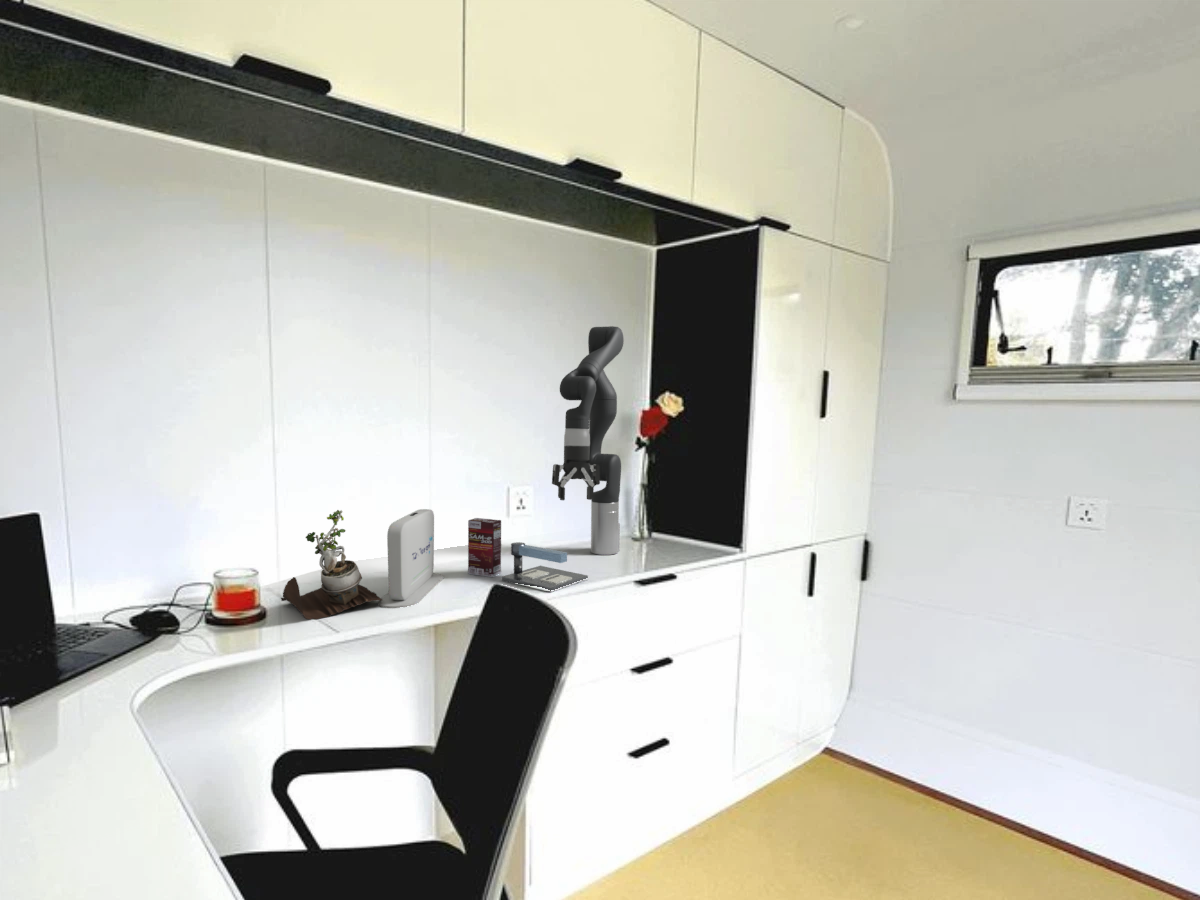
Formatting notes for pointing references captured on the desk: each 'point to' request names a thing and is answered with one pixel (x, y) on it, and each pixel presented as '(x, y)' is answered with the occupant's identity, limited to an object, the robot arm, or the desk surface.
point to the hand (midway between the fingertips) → (575, 499)
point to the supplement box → (484, 547)
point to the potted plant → (330, 580)
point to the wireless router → (410, 560)
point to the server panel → (541, 576)
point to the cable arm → (537, 552)
